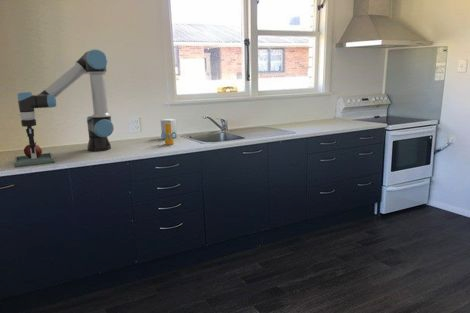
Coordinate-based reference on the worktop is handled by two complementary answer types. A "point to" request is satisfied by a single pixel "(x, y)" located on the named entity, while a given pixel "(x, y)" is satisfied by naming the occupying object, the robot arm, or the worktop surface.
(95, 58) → the robot arm
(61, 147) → the worktop surface
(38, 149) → the fruit
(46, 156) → the tray
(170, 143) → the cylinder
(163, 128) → the supplement box
